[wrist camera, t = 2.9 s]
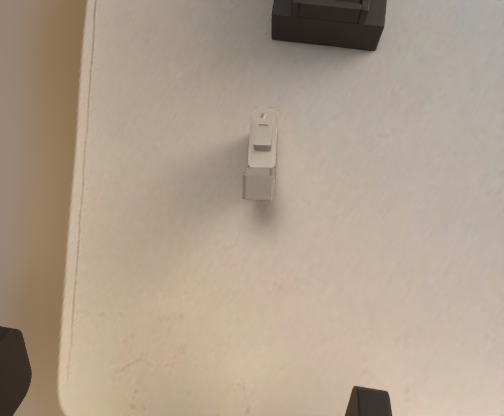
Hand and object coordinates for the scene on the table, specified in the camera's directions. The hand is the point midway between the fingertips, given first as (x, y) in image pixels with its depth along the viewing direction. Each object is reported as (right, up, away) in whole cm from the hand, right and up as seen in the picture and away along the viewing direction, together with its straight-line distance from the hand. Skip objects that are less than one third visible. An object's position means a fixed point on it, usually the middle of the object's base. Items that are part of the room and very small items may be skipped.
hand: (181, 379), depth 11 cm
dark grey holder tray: (+8, +21, +26) cm, 34 cm away
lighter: (+2, +6, +23) cm, 24 cm away
